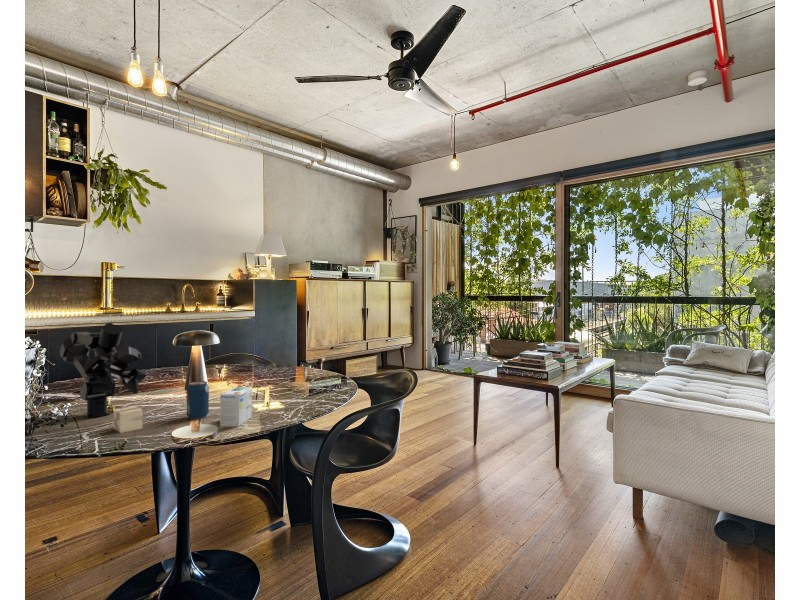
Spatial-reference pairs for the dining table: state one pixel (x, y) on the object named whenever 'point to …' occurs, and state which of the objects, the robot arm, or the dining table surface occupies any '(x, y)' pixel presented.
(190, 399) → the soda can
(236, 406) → the light bulb box
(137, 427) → the maple block
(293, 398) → the dining table surface
